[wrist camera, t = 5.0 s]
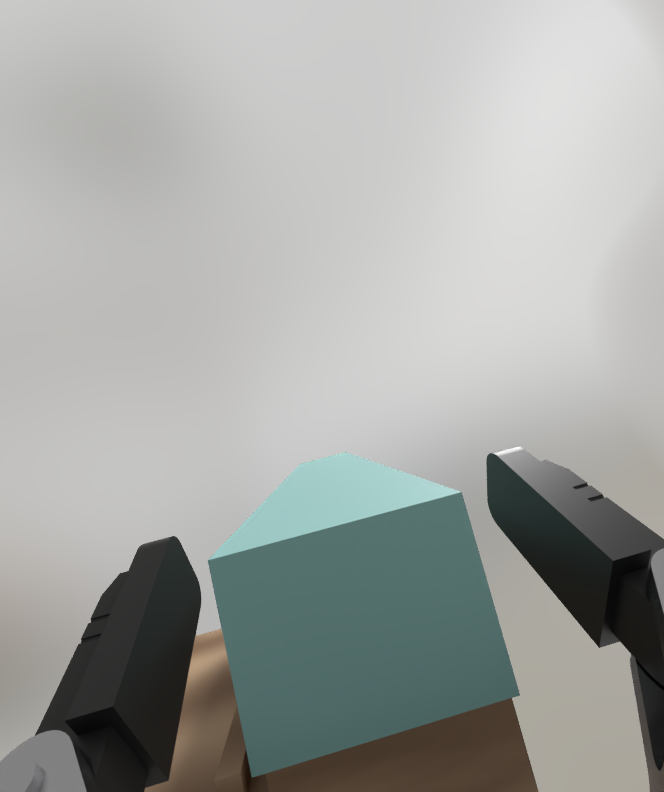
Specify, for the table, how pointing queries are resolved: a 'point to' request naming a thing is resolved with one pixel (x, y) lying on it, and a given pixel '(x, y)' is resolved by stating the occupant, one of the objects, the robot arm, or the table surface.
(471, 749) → the stand
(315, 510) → the block
